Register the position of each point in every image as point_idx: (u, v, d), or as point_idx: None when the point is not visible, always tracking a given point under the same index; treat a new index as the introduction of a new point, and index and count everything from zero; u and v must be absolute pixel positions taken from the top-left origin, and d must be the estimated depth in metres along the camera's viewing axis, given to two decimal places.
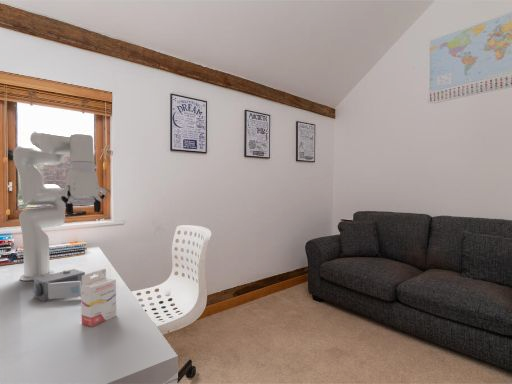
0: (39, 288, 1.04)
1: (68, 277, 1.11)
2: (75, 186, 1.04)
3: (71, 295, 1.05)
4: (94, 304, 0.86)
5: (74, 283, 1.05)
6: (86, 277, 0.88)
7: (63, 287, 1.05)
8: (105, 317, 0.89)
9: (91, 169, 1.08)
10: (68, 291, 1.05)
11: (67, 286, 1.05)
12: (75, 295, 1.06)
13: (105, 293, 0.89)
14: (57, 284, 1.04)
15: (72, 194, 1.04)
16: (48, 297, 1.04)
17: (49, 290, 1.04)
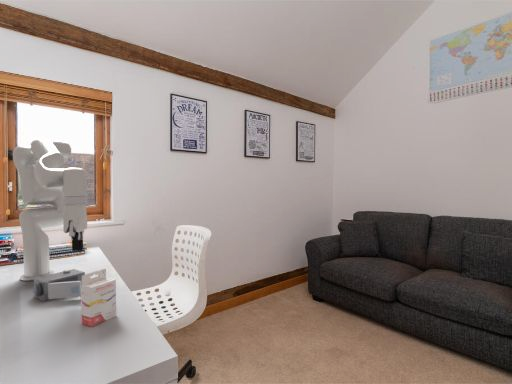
0: (39, 288, 1.04)
1: (68, 277, 1.11)
2: (79, 221, 1.05)
3: (71, 295, 1.05)
4: (94, 304, 0.86)
5: (74, 283, 1.05)
6: (86, 277, 0.88)
7: (63, 287, 1.05)
8: (105, 317, 0.89)
9: None
10: (68, 291, 1.05)
11: (67, 286, 1.05)
12: (75, 295, 1.06)
13: (105, 293, 0.89)
14: (57, 284, 1.04)
15: (77, 229, 1.04)
16: (48, 297, 1.04)
17: (49, 290, 1.04)
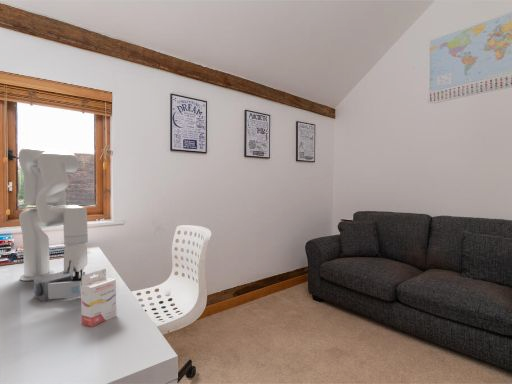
0: (39, 288, 1.04)
1: (68, 277, 1.11)
2: (79, 260, 1.05)
3: (71, 295, 1.05)
4: (94, 304, 0.86)
5: (74, 283, 1.05)
6: (86, 277, 0.88)
7: (63, 287, 1.05)
8: (105, 317, 0.89)
9: (87, 240, 1.10)
10: (68, 291, 1.05)
11: (67, 286, 1.05)
12: (75, 295, 1.06)
13: (105, 293, 0.89)
14: (57, 284, 1.04)
15: (77, 269, 1.04)
16: (48, 297, 1.04)
17: (49, 290, 1.04)
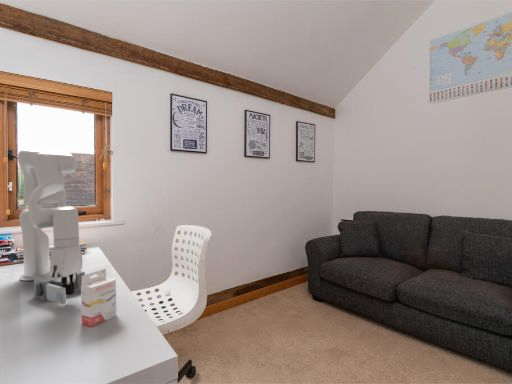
0: (39, 288, 1.04)
1: None
2: (64, 265, 0.99)
3: (58, 301, 1.00)
4: (94, 304, 0.86)
5: (59, 289, 0.99)
6: (86, 277, 0.88)
7: (53, 291, 1.01)
8: (105, 317, 0.89)
9: (78, 244, 1.03)
10: (56, 296, 1.00)
11: (56, 291, 1.00)
12: (60, 302, 0.99)
13: (105, 293, 0.89)
14: (50, 286, 1.02)
15: (61, 274, 0.98)
16: (46, 298, 1.04)
17: (47, 291, 1.03)
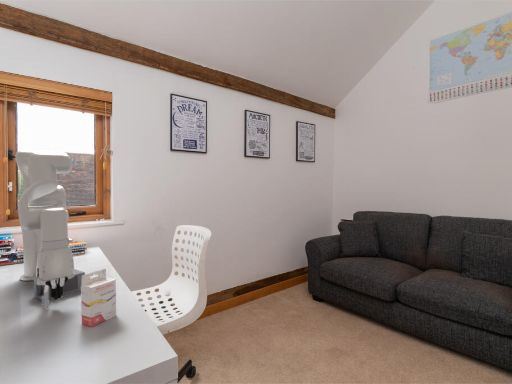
0: (39, 288, 1.04)
1: None
2: (45, 269, 0.95)
3: None
4: (94, 304, 0.86)
5: (44, 293, 0.96)
6: (86, 277, 0.88)
7: None
8: (105, 317, 0.89)
9: (64, 247, 0.98)
10: None
11: None
12: None
13: (105, 293, 0.89)
14: None
15: (41, 278, 0.94)
16: None
17: None
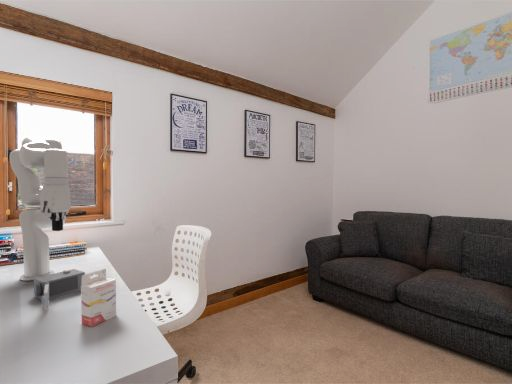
0: (39, 288, 1.04)
1: (68, 277, 1.11)
2: (54, 201, 1.06)
3: None
4: (94, 304, 0.86)
5: (44, 293, 0.96)
6: (86, 277, 0.88)
7: None
8: (105, 317, 0.89)
9: (67, 184, 1.11)
10: None
11: None
12: None
13: (105, 293, 0.89)
14: None
15: (51, 209, 1.05)
16: None
17: None
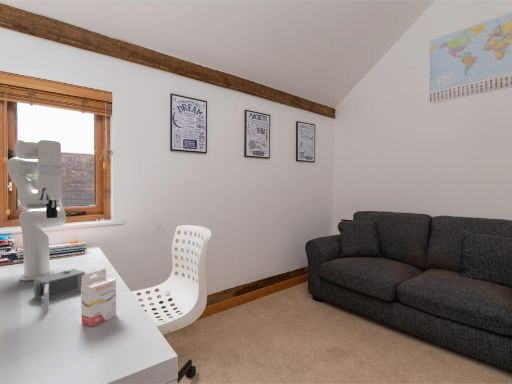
0: (39, 288, 1.04)
1: (68, 277, 1.11)
2: (52, 189, 1.11)
3: None
4: (94, 304, 0.86)
5: (44, 293, 0.96)
6: (86, 277, 0.88)
7: None
8: (105, 317, 0.89)
9: (61, 173, 1.17)
10: None
11: None
12: None
13: (105, 293, 0.89)
14: None
15: (50, 196, 1.10)
16: None
17: None
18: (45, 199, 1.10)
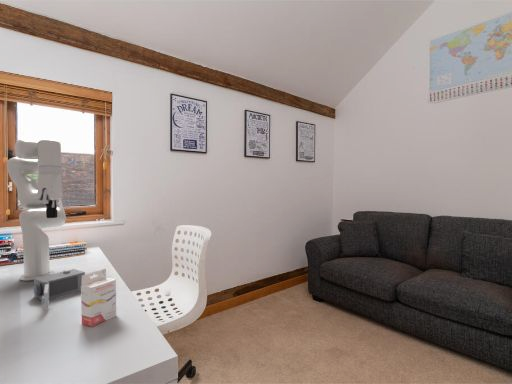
0: (39, 288, 1.04)
1: (68, 277, 1.11)
2: (52, 189, 1.11)
3: None
4: (94, 304, 0.86)
5: (44, 293, 0.96)
6: (86, 277, 0.88)
7: None
8: (105, 317, 0.89)
9: (61, 173, 1.17)
10: None
11: None
12: None
13: (105, 293, 0.89)
14: None
15: (50, 196, 1.10)
16: None
17: None
18: (45, 199, 1.10)
